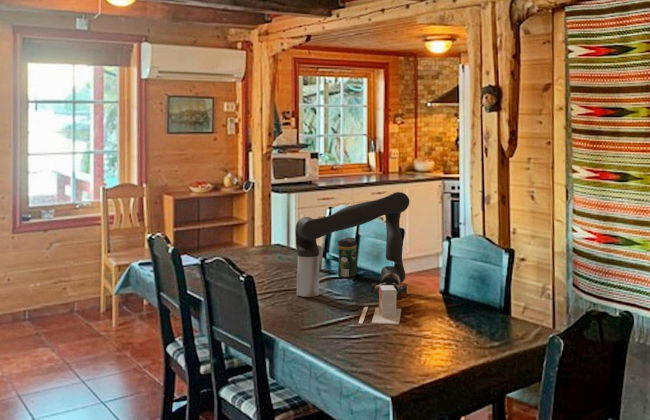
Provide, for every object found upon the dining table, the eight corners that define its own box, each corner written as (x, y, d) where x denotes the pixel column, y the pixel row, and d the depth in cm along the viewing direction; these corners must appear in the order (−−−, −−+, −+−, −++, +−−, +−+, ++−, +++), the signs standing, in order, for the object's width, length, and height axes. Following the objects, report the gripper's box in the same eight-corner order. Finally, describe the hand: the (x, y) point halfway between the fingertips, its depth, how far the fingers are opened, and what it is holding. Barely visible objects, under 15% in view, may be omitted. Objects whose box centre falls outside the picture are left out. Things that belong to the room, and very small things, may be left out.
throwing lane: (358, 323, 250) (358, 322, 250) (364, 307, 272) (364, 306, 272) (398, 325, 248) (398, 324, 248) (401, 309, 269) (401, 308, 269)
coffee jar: (344, 273, 334) (344, 235, 331) (359, 274, 330) (359, 237, 328) (335, 277, 325) (335, 238, 323) (350, 278, 322) (350, 240, 319)
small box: (378, 311, 264) (379, 285, 263) (393, 311, 265) (393, 284, 263) (381, 317, 256) (381, 290, 255) (396, 317, 257) (396, 289, 255)
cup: (307, 270, 341) (307, 246, 339) (313, 267, 347) (313, 244, 345) (319, 271, 338) (319, 247, 336) (326, 269, 343) (325, 245, 342)
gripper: (373, 273, 280) (369, 282, 264) (408, 274, 278) (406, 284, 262) (373, 291, 281) (369, 301, 265) (407, 292, 278) (406, 303, 263)
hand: (387, 292), depth 263 cm, fingers open, 8 cm apart
